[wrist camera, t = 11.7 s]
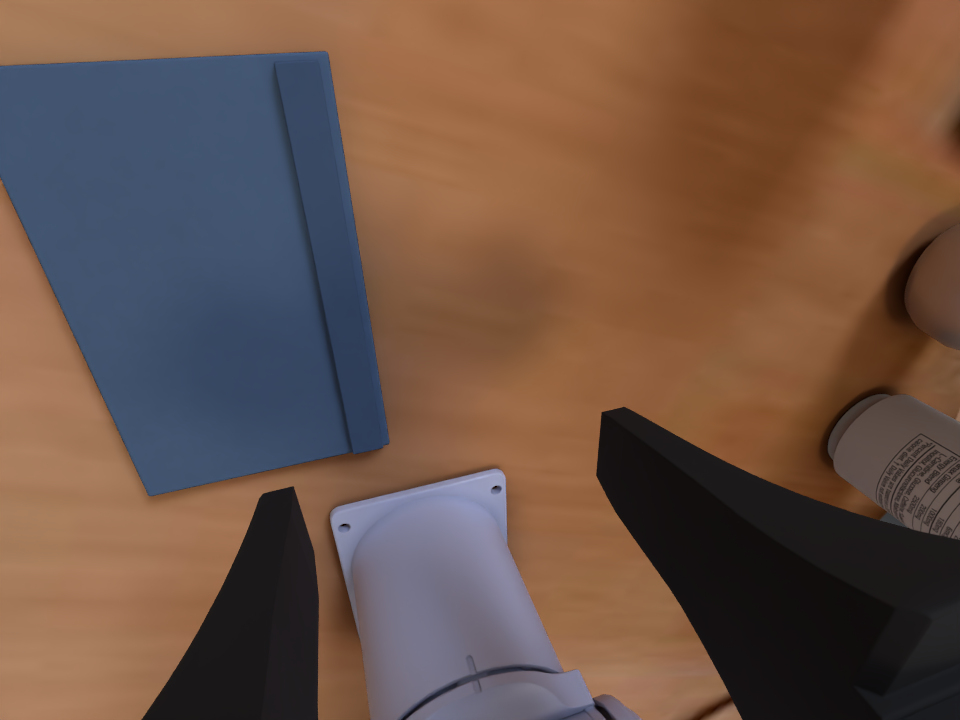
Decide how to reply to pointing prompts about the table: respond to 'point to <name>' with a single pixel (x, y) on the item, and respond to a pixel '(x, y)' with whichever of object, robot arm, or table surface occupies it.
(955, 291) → the plastic bottle
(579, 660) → the table surface
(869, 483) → the energy drink can
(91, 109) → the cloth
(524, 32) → the table surface
